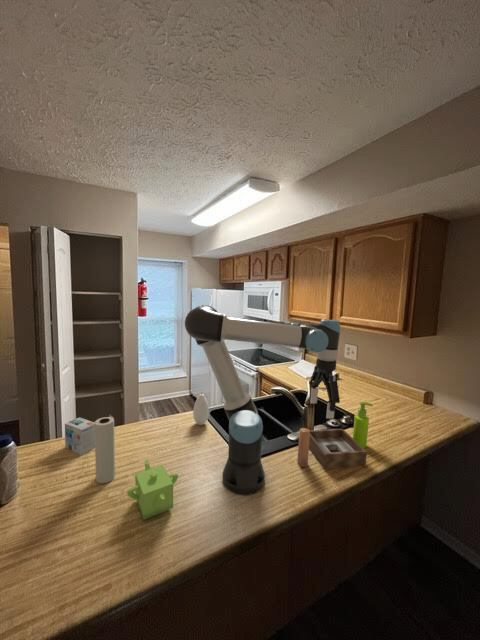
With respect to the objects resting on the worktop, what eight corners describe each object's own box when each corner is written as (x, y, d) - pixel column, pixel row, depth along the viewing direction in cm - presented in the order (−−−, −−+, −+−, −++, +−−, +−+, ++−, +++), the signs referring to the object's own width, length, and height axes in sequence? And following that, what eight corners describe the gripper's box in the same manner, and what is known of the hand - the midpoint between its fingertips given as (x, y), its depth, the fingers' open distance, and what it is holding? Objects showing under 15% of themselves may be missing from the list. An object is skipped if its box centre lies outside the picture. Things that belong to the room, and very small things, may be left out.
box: (323, 469, 105) (324, 454, 105) (304, 443, 123) (305, 430, 122) (365, 465, 108) (367, 451, 108) (341, 440, 126) (342, 428, 125)
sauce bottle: (210, 421, 140) (211, 387, 138) (206, 428, 132) (207, 393, 130) (196, 419, 141) (196, 386, 139) (190, 426, 133) (191, 391, 131)
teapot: (145, 485, 93) (145, 456, 92) (182, 490, 91) (183, 461, 90) (119, 522, 78) (119, 488, 77) (163, 530, 76) (164, 495, 75)
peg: (299, 467, 106) (302, 433, 104) (295, 461, 110) (298, 428, 108) (309, 466, 106) (311, 433, 105) (305, 460, 110) (307, 427, 109)
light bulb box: (64, 448, 112) (63, 423, 111) (80, 440, 118) (79, 416, 117) (81, 455, 108) (80, 429, 107) (96, 447, 114) (96, 422, 113)
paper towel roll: (102, 486, 92) (101, 426, 89) (92, 479, 95) (90, 421, 92) (121, 474, 98) (120, 417, 96) (110, 468, 101) (109, 413, 99)
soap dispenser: (370, 449, 120) (374, 406, 118) (353, 447, 121) (357, 404, 119) (366, 442, 126) (370, 401, 123) (351, 440, 127) (354, 399, 125)
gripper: (354, 368, 96) (347, 425, 98) (320, 351, 120) (315, 397, 123) (334, 367, 95) (328, 425, 97) (304, 351, 119) (299, 397, 121)
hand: (321, 410), depth 110 cm, fingers open, 13 cm apart
